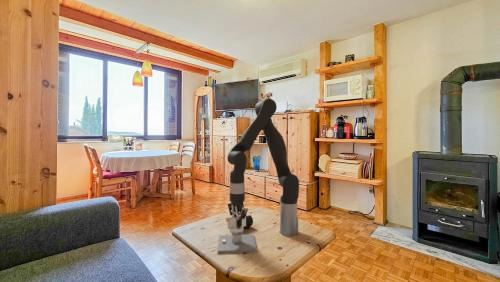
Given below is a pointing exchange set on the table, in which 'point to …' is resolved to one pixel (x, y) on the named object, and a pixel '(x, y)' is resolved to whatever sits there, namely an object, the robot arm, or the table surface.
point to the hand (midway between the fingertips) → (237, 225)
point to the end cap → (248, 221)
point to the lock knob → (235, 225)
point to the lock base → (242, 246)
